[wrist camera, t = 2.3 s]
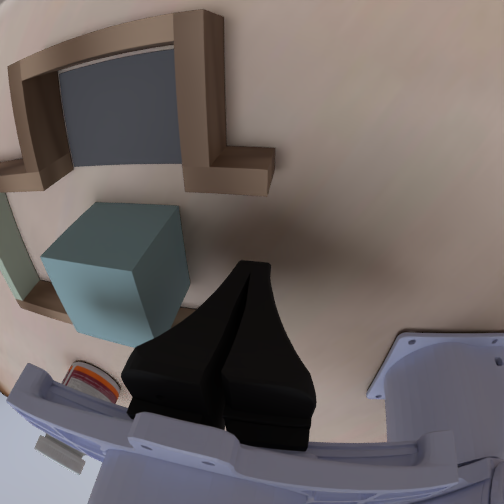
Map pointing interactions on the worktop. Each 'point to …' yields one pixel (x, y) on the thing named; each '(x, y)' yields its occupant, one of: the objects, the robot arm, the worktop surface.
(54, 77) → the brown frame
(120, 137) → the mat
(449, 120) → the worktop surface
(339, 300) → the worktop surface
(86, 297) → the teal block
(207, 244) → the worktop surface
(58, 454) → the pill bottle
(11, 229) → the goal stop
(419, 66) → the worktop surface
